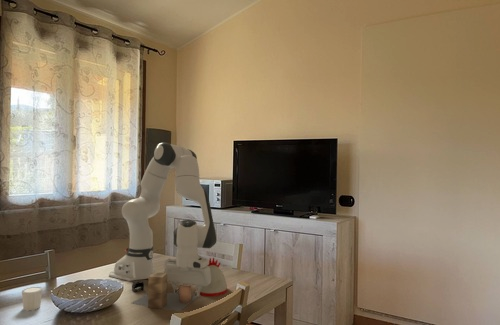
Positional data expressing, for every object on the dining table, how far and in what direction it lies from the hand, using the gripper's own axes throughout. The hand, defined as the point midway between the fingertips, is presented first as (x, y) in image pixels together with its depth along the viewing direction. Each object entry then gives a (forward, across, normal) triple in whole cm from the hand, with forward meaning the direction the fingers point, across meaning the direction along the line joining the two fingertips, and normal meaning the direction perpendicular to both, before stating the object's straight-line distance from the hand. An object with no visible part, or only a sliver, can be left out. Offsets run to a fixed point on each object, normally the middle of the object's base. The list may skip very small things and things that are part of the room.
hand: (186, 294), depth 149 cm
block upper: (-4, -8, -8) cm, 12 cm away
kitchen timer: (+3, +5, +15) cm, 16 cm away
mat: (+3, -8, -2) cm, 9 cm away
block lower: (+2, -8, -8) cm, 12 cm away
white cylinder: (+3, -53, -26) cm, 59 cm away
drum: (+3, 0, 0) cm, 3 cm away
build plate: (+4, -26, +4) cm, 26 cm away
